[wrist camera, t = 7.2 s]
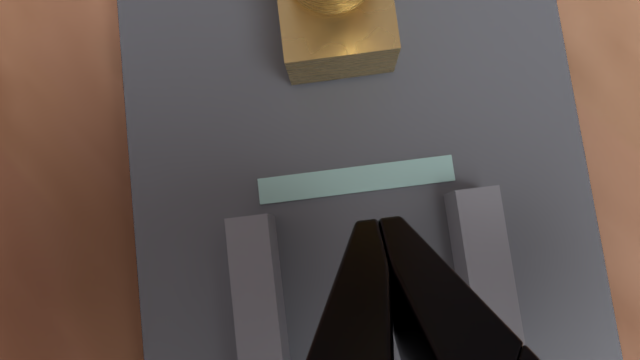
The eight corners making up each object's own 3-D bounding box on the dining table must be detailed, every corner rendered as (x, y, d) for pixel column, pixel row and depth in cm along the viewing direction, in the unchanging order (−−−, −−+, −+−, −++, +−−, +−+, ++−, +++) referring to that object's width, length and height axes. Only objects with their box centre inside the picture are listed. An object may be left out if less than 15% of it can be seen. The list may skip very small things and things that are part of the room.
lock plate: (622, 528, 16) (703, 612, 12) (185, 572, 16) (141, 666, 13) (521, -35, 18) (565, -102, 15) (140, 17, 19) (92, -36, 15)
